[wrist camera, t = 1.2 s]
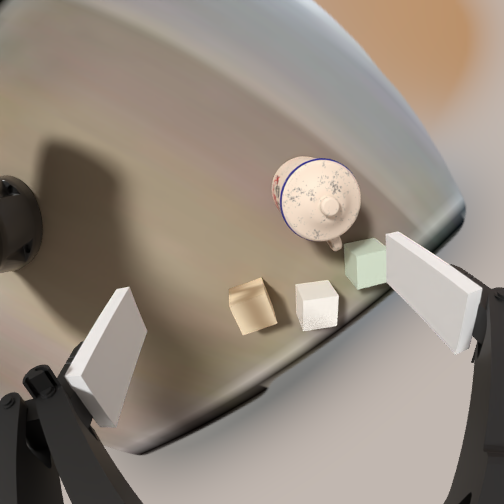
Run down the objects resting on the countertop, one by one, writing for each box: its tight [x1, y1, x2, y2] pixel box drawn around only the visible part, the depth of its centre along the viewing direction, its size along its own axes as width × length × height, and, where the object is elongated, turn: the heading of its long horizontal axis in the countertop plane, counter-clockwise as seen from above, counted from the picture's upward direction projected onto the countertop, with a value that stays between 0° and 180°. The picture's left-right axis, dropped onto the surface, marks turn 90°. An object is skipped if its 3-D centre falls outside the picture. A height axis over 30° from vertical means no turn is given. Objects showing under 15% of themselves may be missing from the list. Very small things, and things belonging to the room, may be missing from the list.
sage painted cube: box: [344, 238, 386, 290], centre depth 42 cm, size 5×5×5 cm
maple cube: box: [229, 277, 277, 335], centre depth 43 cm, size 5×5×5 cm
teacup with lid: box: [272, 156, 361, 251], centre depth 35 cm, size 12×9×12 cm
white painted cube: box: [296, 280, 339, 331], centre depth 44 cm, size 5×5×5 cm
